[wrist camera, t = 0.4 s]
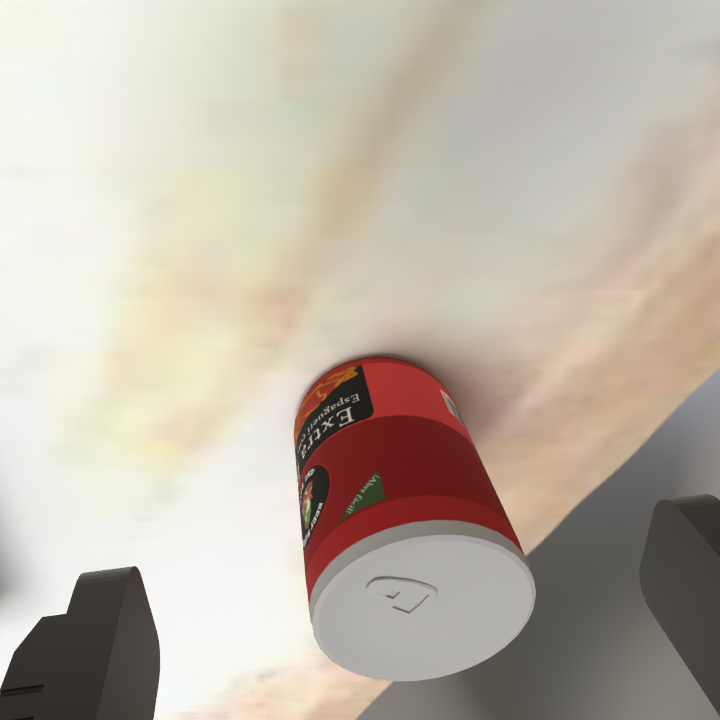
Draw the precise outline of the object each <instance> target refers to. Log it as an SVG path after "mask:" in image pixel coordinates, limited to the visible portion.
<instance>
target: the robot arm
mask: <svg viewBox="0 0 720 720" xmlns="http://www.w3.org/2000/svg"><path fill="white" fill-rule="evenodd" d="M640 584H641V588H642V592H643V596H644V598H645V601H646V603H647V605H648V607H649V609H650V610H651V612H652V613H653V615H654V616H655V618H656V619H657V621H658V622H659V624H660V626H661V627H662V629H663V630H664V632H665V633H666V635H667V636H668V637H669V639H670V641H671V642H672V644H673V646H674V647H675V649H676V650H677V652H678V653H679V655H680V656H681V658H682V659H683V661H684V662H685V664H686V665H687V667H688V668H689V670H690V671H691V673H692V675H693V676H694V678H695V679H696V681H697V682H698V684H699V685H700V686H701V688H702V690H703V691H704V693H705V694H706V696H707V697H708V699H709V700H710V702H711V704H712V705H713V706H714V708H715V709H716V711H717V713H718V714H719V715H720V500H718V499H717V498H716V497H714V496H712V495H709V494H704V495H696V496H689V497H681V498H673V499H665V500H661V501H659V502H658V503H657V505H656V506H655V508H654V512H653V516H652V520H651V524H650V528H649V532H648V536H647V541H646V545H645V549H644V553H643V557H642V561H641V566H640ZM159 674H160V648H159V640H158V635H157V631H156V627H155V623H154V620H153V616H152V613H151V609H150V606H149V602H148V599H147V595H146V591H145V588H144V584H143V581H142V577H141V574H140V571H139V569H138V568H137V567H136V566H134V567H126V568H118V569H110V570H103V571H95V572H87V573H82V574H81V575H80V576H79V578H78V580H77V582H76V585H75V588H74V591H73V594H72V597H71V601H70V604H69V607H68V610H67V613H66V614H62V615H55V616H47V617H42V618H41V619H40V621H39V622H38V623H37V624H36V626H35V627H34V628H33V629H32V631H31V632H30V633H29V634H28V636H27V637H26V638H25V639H24V640H23V642H22V643H21V644H20V645H19V647H18V648H17V649H16V650H15V652H14V654H13V657H12V659H11V662H10V665H9V667H8V670H7V673H6V675H5V678H4V681H3V683H2V686H1V689H0V720H153V718H154V711H155V704H156V697H157V690H158V683H159Z"/></svg>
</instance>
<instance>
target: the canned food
mask: <svg viewBox="0 0 720 720" xmlns="http://www.w3.org/2000/svg"><path fill="white" fill-rule="evenodd" d="M294 442H295V454H296V466H297V479H298V491H299V503H300V515H301V527H302V539H303V551H304V563H305V576H306V585H307V592H308V602H309V611H310V619H311V623H312V626H313V631H314V636H315V639H316V641H317V643H318V645H319V647H320V649H321V650H322V651H323V652H324V653H325V654H326V655H327V656H328V657H329V659H330V660H332V661H333V662H335V663H336V664H338V665H339V666H341V667H342V668H344V669H346V670H348V671H351V672H353V673H355V674H358V675H361V676H365V677H369V678H373V679H378V680H388V681H418V680H424V679H432V678H438V677H442V676H445V675H449V674H453V673H456V672H459V671H462V670H464V669H467V668H470V667H472V666H474V665H476V664H478V663H480V662H482V661H484V660H486V659H488V658H489V657H491V656H493V655H494V654H496V653H497V652H498V651H500V650H501V649H503V648H504V647H506V646H507V645H508V644H509V643H510V642H511V641H512V640H513V639H514V638H515V637H516V636H517V635H518V634H519V632H520V631H521V630H522V628H523V627H524V625H525V624H526V623H527V621H528V619H529V617H530V615H531V613H532V610H533V608H534V602H535V596H536V592H535V585H534V579H533V577H532V575H531V572H530V567H529V564H528V562H527V560H526V557H525V555H524V553H523V551H522V549H521V546H520V543H519V541H518V538H517V536H516V534H515V532H514V530H513V528H512V526H511V523H510V521H509V519H508V517H507V515H506V513H505V511H504V508H503V506H502V504H501V502H500V500H499V498H498V496H497V494H496V491H495V489H494V487H493V485H492V483H491V481H490V479H489V476H488V474H487V472H486V470H485V468H484V466H483V464H482V461H481V459H480V457H479V455H478V453H477V451H476V449H475V446H474V444H473V442H472V440H471V438H470V436H469V434H468V431H467V429H466V427H465V425H464V423H463V421H462V419H461V416H460V414H459V412H458V410H457V408H456V406H455V404H454V402H453V400H452V397H451V395H450V394H449V393H448V391H447V390H446V389H445V388H444V387H443V385H442V384H441V383H440V382H438V381H437V380H436V379H435V378H433V377H432V376H431V375H430V374H428V373H427V372H426V371H424V370H423V369H421V368H419V367H417V366H415V365H413V364H411V363H408V362H405V361H401V360H397V359H391V358H367V359H361V360H357V361H353V362H349V363H347V364H344V365H342V366H340V367H337V368H335V369H333V370H332V371H330V372H329V373H327V374H326V375H324V376H323V377H321V378H320V379H319V380H318V381H317V382H316V383H315V384H314V385H313V386H312V387H311V389H310V390H309V392H308V393H307V395H306V396H305V398H304V400H303V402H302V404H301V407H300V409H299V412H298V415H297V417H296V420H295V427H294Z"/></svg>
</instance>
